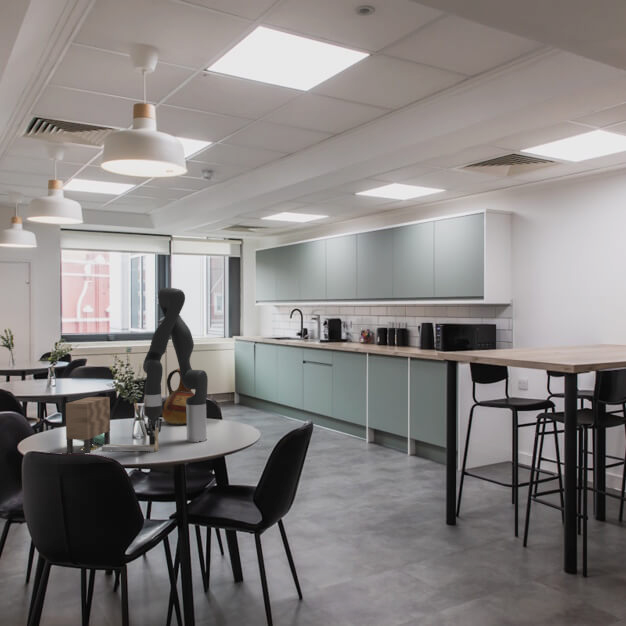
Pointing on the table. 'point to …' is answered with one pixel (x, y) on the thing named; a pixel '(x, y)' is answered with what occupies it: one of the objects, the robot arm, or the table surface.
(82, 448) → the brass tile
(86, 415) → the walnut cabinet
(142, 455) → the table surface
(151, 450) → the plank with tan block
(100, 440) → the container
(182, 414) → the ceramic pitcher
